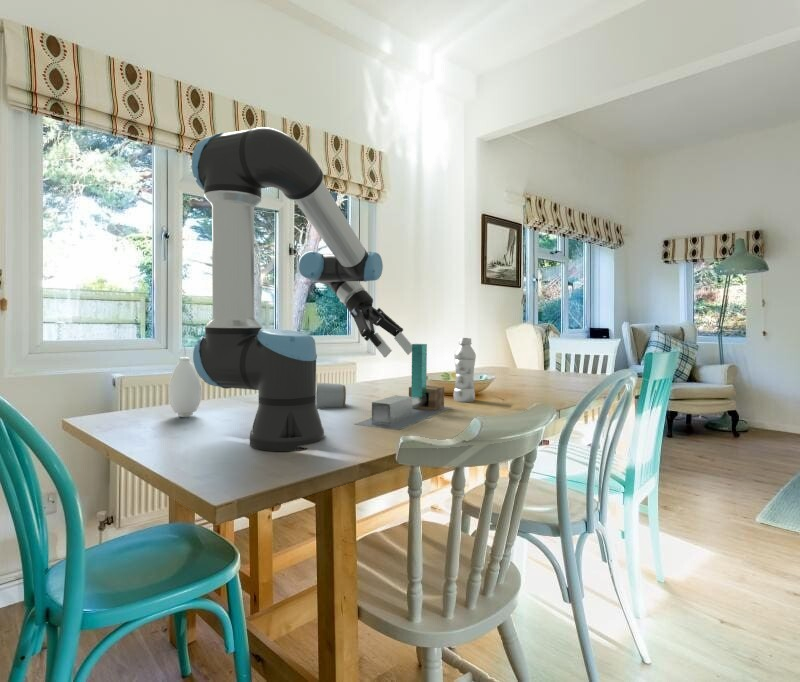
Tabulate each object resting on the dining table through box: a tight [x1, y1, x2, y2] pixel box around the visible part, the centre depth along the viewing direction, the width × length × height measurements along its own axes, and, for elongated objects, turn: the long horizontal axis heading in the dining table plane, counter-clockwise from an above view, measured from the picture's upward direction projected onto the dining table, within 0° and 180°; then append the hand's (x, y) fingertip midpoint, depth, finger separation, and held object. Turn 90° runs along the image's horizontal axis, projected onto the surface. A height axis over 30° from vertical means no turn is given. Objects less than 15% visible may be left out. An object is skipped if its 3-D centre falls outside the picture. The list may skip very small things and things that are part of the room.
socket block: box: [408, 384, 445, 411], centre depth 142 cm, size 6×8×6 cm
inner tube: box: [411, 343, 429, 409], centre depth 135 cm, size 17×3×17 cm, turn 153°
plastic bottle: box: [452, 337, 477, 403], centre depth 154 cm, size 6×7×20 cm
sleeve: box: [371, 394, 412, 426], centre depth 124 cm, size 12×5×5 cm, turn 153°
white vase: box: [168, 347, 202, 418], centre depth 131 cm, size 8×8×18 cm
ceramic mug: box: [316, 381, 347, 410], centre depth 145 cm, size 11×8×8 cm
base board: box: [354, 406, 452, 431], centre depth 131 cm, size 32×12×1 cm, turn 153°
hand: (400, 352), depth 141 cm, fingers open, 13 cm apart
